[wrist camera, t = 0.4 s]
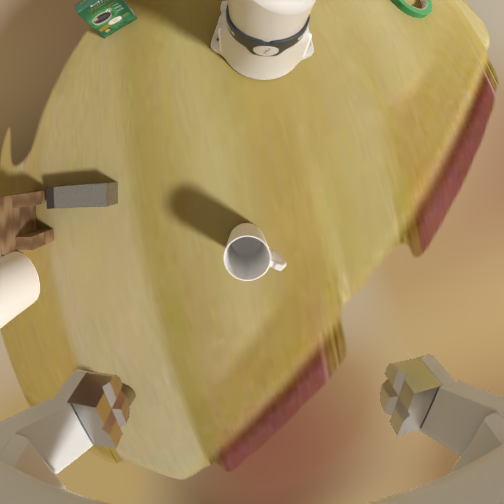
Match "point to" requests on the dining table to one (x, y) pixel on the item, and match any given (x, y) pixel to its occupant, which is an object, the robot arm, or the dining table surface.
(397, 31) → the dining table surface
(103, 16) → the coffee box
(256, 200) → the dining table surface
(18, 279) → the canister
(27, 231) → the wooden chair block
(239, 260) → the mug
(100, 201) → the rectangular grey metal block
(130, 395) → the cork
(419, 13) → the tape roll
